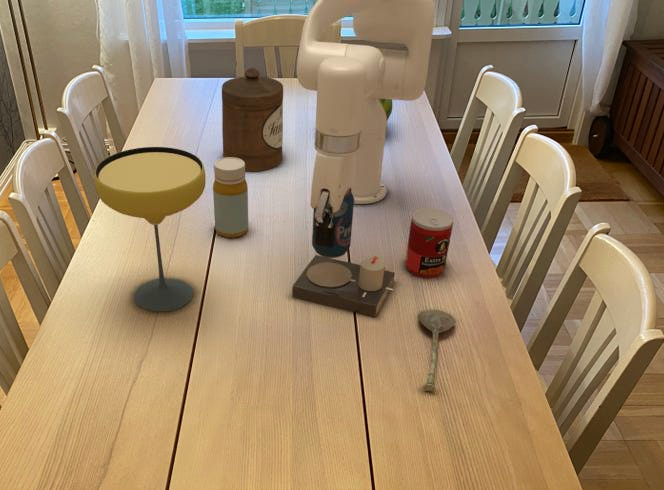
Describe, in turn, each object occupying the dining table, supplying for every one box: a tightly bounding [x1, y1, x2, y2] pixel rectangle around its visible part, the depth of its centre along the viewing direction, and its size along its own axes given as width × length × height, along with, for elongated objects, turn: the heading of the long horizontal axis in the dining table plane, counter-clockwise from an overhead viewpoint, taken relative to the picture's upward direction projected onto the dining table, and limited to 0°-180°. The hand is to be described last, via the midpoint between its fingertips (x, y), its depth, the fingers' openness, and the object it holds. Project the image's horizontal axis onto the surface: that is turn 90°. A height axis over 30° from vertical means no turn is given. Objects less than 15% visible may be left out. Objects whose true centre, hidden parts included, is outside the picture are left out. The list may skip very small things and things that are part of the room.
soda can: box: [311, 188, 355, 259], centre depth 127 cm, size 7×7×12 cm
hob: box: [291, 254, 396, 318], centre depth 133 cm, size 17×12×3 cm
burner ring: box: [307, 262, 352, 288], centre depth 134 cm, size 8×8×1 cm
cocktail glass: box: [93, 146, 207, 313], centre depth 125 cm, size 18×18×25 cm
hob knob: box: [358, 255, 386, 291], centre depth 130 cm, size 4×4×5 cm
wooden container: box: [221, 67, 284, 172], centre depth 173 cm, size 15×15×22 cm
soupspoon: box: [417, 309, 457, 392], centre depth 120 cm, size 22×3×7 cm
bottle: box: [212, 157, 249, 239], centre depth 147 cm, size 7×7×15 cm
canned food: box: [405, 207, 454, 278], centre depth 137 cm, size 8×8×11 cm
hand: (331, 234), depth 128 cm, fingers closed on soda can, 7 cm apart
